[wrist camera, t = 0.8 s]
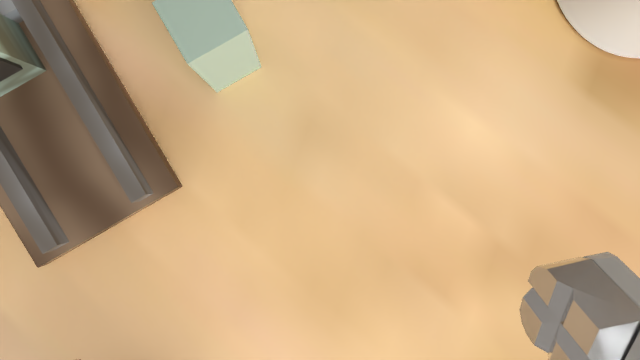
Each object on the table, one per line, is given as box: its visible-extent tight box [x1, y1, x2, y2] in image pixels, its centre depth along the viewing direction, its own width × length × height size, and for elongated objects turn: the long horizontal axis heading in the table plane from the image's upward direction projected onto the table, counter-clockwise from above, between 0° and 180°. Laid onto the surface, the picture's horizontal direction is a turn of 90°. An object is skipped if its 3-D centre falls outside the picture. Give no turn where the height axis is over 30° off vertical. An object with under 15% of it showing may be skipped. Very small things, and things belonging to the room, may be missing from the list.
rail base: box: [0, 0, 182, 267], centre depth 35 cm, size 12×18×12 cm, turn 30°
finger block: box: [152, 0, 261, 92], centre depth 36 cm, size 4×4×11 cm
